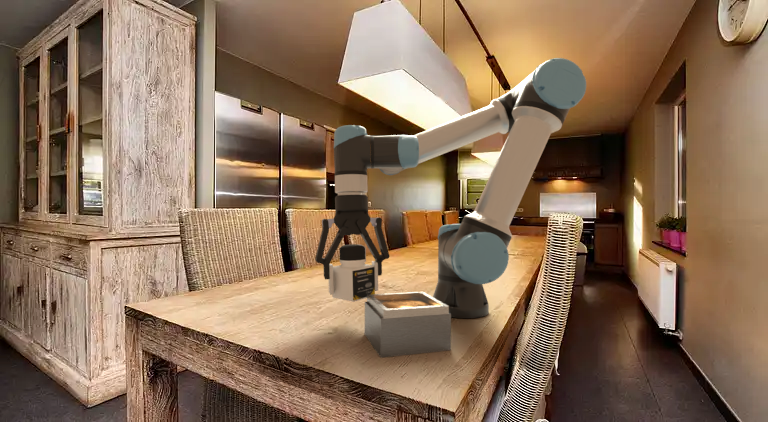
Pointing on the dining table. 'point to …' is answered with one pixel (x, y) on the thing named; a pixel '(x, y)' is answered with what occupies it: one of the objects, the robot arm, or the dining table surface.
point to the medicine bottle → (353, 274)
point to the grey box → (407, 323)
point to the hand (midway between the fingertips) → (353, 291)
